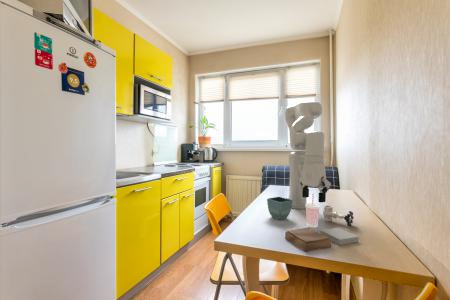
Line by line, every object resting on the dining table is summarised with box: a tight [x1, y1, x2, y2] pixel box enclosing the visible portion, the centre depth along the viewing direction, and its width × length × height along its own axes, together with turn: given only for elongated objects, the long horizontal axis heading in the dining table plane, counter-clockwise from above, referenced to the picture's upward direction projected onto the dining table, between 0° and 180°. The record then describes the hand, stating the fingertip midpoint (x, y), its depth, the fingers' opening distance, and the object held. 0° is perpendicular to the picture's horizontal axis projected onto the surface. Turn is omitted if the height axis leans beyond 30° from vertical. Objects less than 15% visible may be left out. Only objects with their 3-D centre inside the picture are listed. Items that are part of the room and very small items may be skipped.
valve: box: [323, 205, 355, 227], centre depth 101 cm, size 7×7×12 cm
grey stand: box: [320, 227, 360, 246], centre depth 83 cm, size 9×9×2 cm
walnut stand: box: [284, 227, 332, 253], centre depth 79 cm, size 11×11×3 cm
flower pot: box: [266, 196, 293, 221], centre depth 105 cm, size 9×9×9 cm
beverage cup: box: [305, 193, 321, 228], centre depth 96 cm, size 6×6×14 cm
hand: (313, 199), depth 95 cm, fingers open, 9 cm apart
